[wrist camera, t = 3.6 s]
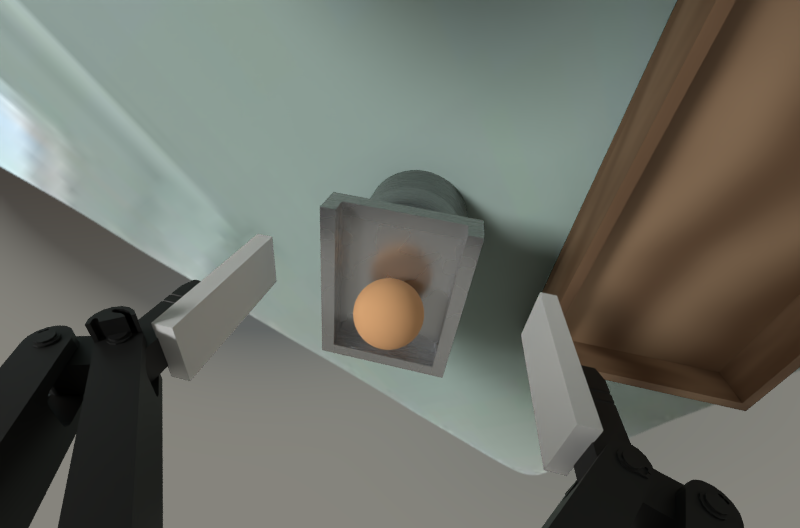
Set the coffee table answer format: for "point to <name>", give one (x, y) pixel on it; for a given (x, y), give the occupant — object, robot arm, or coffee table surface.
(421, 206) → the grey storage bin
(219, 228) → the coffee table surface
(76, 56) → the coffee table surface
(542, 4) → the coffee table surface
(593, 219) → the tray
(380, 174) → the coffee table surface
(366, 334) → the ball
